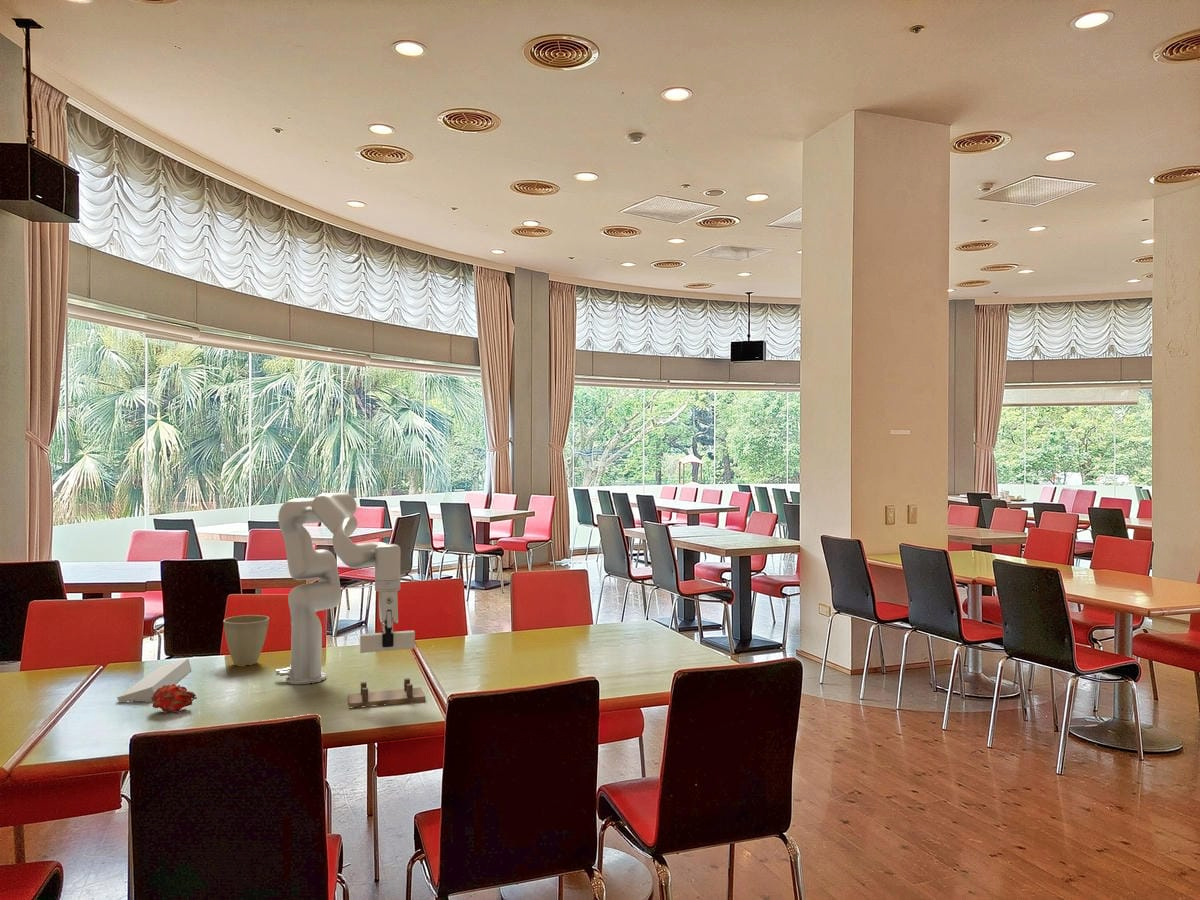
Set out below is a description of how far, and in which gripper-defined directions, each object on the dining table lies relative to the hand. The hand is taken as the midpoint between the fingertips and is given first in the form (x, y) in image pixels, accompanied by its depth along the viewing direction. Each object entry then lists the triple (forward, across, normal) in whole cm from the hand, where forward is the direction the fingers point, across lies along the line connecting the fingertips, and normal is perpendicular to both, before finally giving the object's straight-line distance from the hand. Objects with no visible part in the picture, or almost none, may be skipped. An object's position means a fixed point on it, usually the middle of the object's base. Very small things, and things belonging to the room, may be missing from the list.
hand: (387, 644), depth 244 cm
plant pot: (+17, +59, +43) cm, 75 cm away
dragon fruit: (+17, +9, +59) cm, 62 cm away
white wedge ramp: (+17, +39, +68) cm, 80 cm away
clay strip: (+1, 0, 0) cm, 1 cm away
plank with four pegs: (+17, 0, 0) cm, 17 cm away
